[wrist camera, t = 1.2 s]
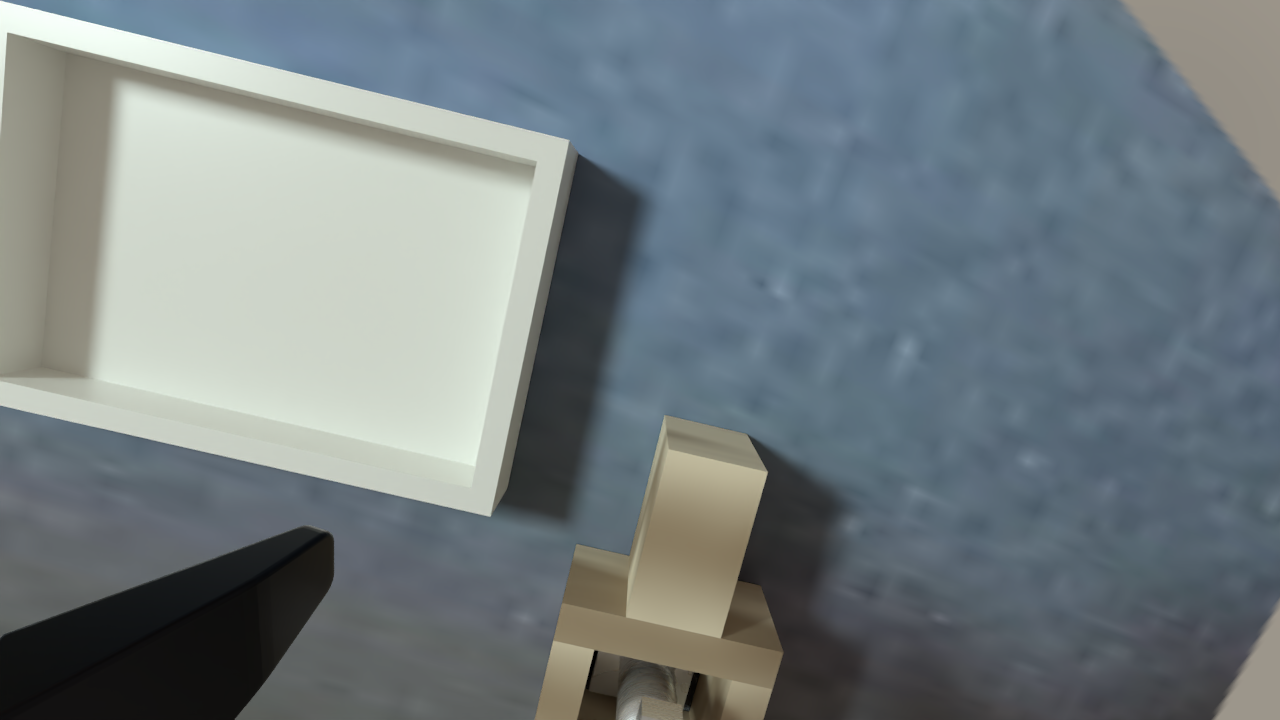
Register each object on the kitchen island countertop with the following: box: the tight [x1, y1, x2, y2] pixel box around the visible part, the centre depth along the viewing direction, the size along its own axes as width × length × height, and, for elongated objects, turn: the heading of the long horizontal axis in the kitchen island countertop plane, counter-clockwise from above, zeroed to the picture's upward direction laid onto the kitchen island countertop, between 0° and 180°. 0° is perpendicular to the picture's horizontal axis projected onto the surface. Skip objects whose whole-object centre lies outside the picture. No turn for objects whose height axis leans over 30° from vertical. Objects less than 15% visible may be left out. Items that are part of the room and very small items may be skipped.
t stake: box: [589, 651, 693, 720], centre depth 21 cm, size 4×4×6 cm
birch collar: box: [535, 415, 784, 720], centre depth 22 cm, size 12×7×4 cm, turn 167°
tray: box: [0, 1, 578, 517], centre depth 21 cm, size 17×12×2 cm
